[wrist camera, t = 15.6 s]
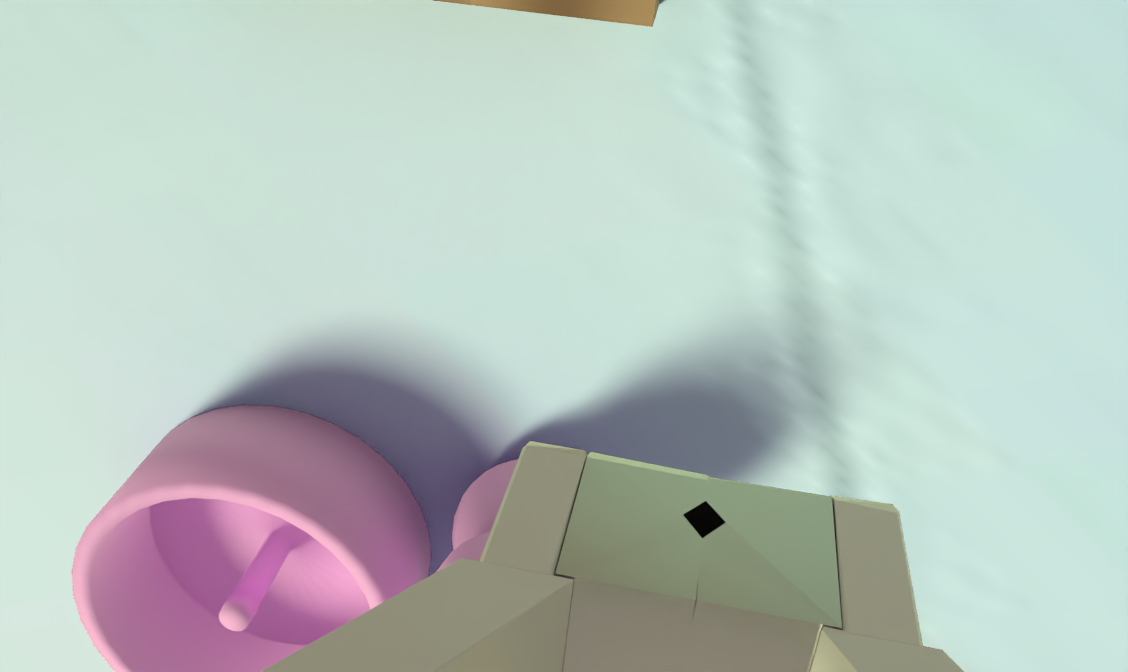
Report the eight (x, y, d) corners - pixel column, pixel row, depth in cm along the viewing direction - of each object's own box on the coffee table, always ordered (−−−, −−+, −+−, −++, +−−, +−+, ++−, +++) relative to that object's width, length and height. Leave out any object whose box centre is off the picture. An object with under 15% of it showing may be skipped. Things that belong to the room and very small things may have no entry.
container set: (206, 658, 59) (79, 872, 48) (91, 426, 53) (-88, 607, 41) (650, 617, 54) (629, 848, 42) (581, 352, 47) (533, 537, 36)
